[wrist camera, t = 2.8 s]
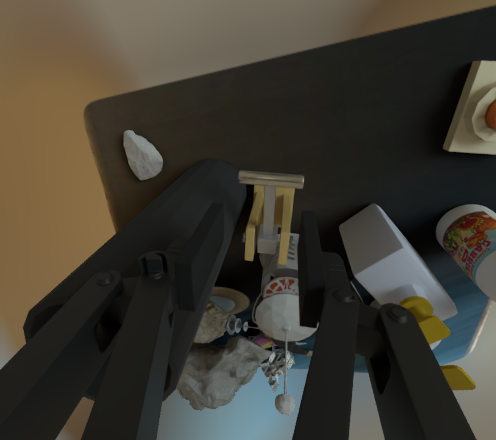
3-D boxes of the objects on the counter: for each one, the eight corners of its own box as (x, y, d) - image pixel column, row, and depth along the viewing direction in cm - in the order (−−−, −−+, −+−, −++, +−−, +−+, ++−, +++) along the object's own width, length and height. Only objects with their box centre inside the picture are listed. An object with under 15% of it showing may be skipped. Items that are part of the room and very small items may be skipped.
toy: (290, 319, 37) (283, 255, 44) (158, 340, 44) (170, 282, 50) (313, 346, 46) (305, 289, 52) (200, 360, 52) (205, 308, 59)
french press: (330, 258, 47) (364, 420, 25) (281, 295, 52) (274, 457, 30) (287, 221, 45) (283, 361, 23) (241, 263, 50) (200, 411, 28)
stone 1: (141, 181, 45) (136, 185, 43) (114, 137, 42) (107, 139, 41) (170, 168, 44) (167, 171, 42) (145, 122, 41) (139, 123, 40)
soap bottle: (419, 254, 44) (531, 410, 24) (381, 275, 47) (451, 431, 26) (374, 199, 41) (456, 323, 21) (336, 225, 44) (375, 357, 23)
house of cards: (288, 327, 55) (287, 363, 48) (302, 357, 58) (304, 394, 52) (246, 336, 58) (240, 370, 51) (262, 364, 61) (259, 400, 54)
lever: (240, 162, 27) (236, 180, 25) (304, 167, 26) (304, 186, 25) (245, 235, 36) (242, 251, 35) (291, 240, 36) (291, 256, 34)
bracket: (255, 180, 43) (241, 217, 31) (295, 183, 42) (296, 223, 31) (252, 221, 46) (240, 268, 35) (290, 224, 45) (289, 274, 34)
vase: (236, 151, 41) (134, 286, 15) (254, 212, 45) (201, 405, 19) (173, 168, 44) (-10, 308, 17) (196, 224, 48) (76, 409, 21)
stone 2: (280, 339, 44) (255, 405, 38) (246, 388, 64) (225, 437, 57) (199, 294, 47) (162, 348, 40) (190, 355, 67) (164, 398, 60)
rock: (214, 286, 42) (187, 307, 39) (247, 338, 42) (222, 363, 39) (168, 302, 58) (146, 317, 55) (191, 340, 58) (171, 357, 55)
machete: (276, 335, 49) (275, 331, 50) (265, 345, 50) (264, 341, 50) (328, 353, 56) (327, 349, 57) (317, 361, 57) (316, 358, 58)
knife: (368, 305, 51) (369, 306, 50) (360, 307, 51) (360, 309, 51) (346, 264, 47) (347, 265, 47) (337, 267, 48) (338, 269, 47)
